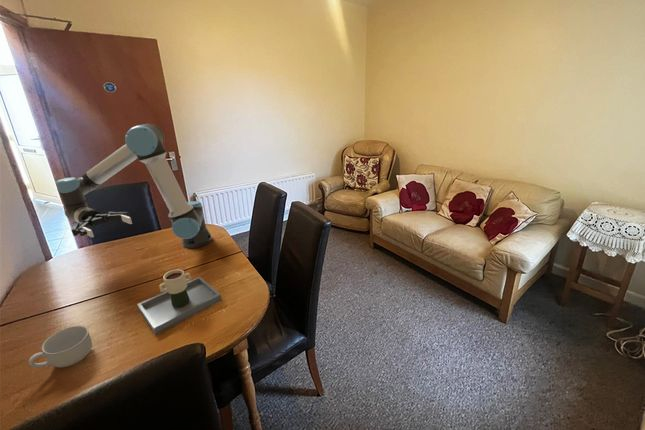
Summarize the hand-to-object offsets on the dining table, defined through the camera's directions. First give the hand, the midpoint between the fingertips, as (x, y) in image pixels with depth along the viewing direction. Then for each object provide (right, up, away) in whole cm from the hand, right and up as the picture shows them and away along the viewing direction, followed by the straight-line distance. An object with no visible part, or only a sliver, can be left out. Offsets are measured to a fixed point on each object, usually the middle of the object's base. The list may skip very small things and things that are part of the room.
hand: (112, 227), depth 111 cm
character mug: (+28, -29, -2) cm, 40 cm away
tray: (+28, -30, -2) cm, 41 cm away
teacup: (+4, -40, -24) cm, 47 cm away
